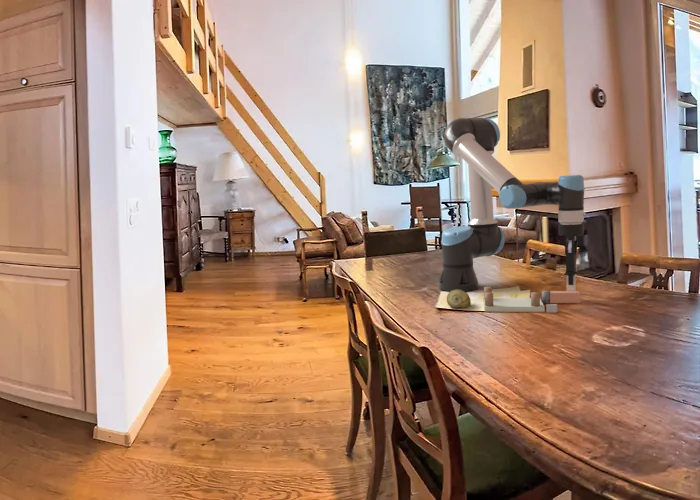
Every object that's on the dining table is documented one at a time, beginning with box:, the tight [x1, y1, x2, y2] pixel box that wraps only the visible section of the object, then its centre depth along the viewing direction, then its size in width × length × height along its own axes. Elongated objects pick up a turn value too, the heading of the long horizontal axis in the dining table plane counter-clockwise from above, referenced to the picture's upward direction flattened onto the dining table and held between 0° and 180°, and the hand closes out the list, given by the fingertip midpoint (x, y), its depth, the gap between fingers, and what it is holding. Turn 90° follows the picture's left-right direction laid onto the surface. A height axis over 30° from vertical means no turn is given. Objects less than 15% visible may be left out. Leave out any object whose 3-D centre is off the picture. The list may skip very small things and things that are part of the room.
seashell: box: [446, 289, 472, 309], centre depth 163 cm, size 10×7×8 cm
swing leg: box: [541, 290, 581, 304], centre depth 159 cm, size 11×3×4 cm, turn 76°
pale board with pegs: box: [483, 286, 558, 314], centre depth 157 cm, size 22×12×6 cm, turn 76°
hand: (571, 293), depth 161 cm, fingers closed
